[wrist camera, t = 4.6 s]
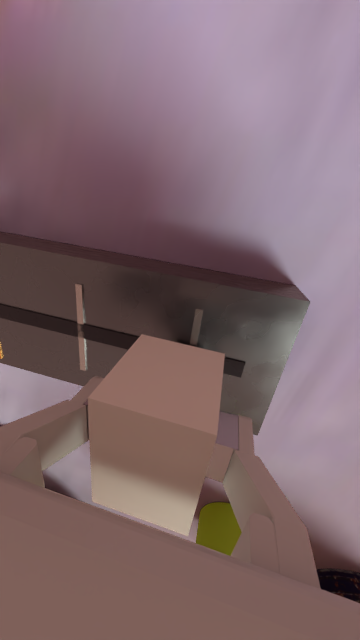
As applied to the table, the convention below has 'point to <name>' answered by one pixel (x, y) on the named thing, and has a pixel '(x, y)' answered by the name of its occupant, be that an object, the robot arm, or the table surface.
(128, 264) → the fader panel
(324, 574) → the black ridged cylinder
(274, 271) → the table surface
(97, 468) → the fader knob
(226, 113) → the table surface
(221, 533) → the soap dispenser
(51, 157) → the table surface
